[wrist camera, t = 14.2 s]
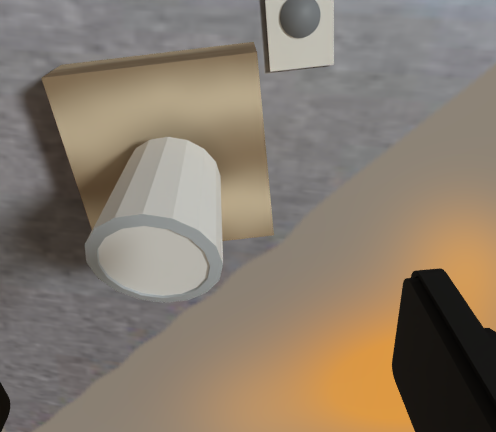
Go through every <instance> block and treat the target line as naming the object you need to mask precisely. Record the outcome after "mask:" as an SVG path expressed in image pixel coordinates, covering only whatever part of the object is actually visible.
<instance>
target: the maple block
mask: <svg viewBox="0 0 496 432" xmlns="http://www.w3.org/2000/svg"><path fill="white" fill-rule="evenodd" d="M42 81H43V84H44V87H45V90H46V93H47V96H48V99H49V102H50V105H51V108H52V111H53V114H54V117H55V120H56V123H57V126H58V129H59V132H60V135H61V138H62V141H63V144H64V147H65V150H66V153H67V156H68V159H69V162H70V165H71V168H72V171H73V174H74V177H75V180H76V183H77V186H78V189H79V192H80V195H81V198H82V201H83V204H84V207H85V210H86V213H87V216H88V219H89V222H90V225H91V228H92V230H93V228H94V226H95V224H96V222H97V220H98V218H99V216H100V214H101V212H102V210H103V208H104V207H105V205H106V203H107V201H108V199H109V197H110V195H111V193H112V191H113V189H114V187H115V185H116V184H117V182H118V180H119V178H120V176H121V174H122V172H123V170H124V168H125V166H126V164H127V162H128V161H129V159H130V157H131V155H132V154H133V152H134V150H135V149H136V148H137V147H139V146H140V145H142V144H144V143H145V142H147V141H148V140H151V139H157V138H163V137H173V138H179V139H185V140H188V141H190V142H192V143H194V144H196V145H198V146H200V147H202V148H204V149H205V150H206V151H207V152H208V154H209V155H210V156H211V157H212V158H213V159H214V160H215V161H216V164H217V167H218V170H219V173H220V178H221V212H222V241H227V240H236V239H244V238H253V237H262V236H271V235H274V233H273V222H272V211H271V200H270V189H269V179H268V168H267V157H266V146H265V135H264V124H263V114H262V103H261V92H260V81H259V70H258V59H257V51H256V48H255V45H254V42H249V43H240V44H232V45H224V46H215V47H207V48H198V49H190V50H182V51H173V52H165V53H157V54H148V55H140V56H132V57H123V58H115V59H107V60H98V61H90V62H82V63H73V64H65V65H60V66H59V67H57V68H56V69H54V70H53V71H51V72H50V73H48V74H47V75H45V76H44V77H42Z"/></svg>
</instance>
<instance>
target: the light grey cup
mask: <svg viewBox="0 0 496 432" xmlns="http://www.w3.org/2000/svg"><path fill="white" fill-rule="evenodd" d="M85 253H86V262H87V264H88V265H89V266H90V268H91V269H92V271H93V272H94V273H95V275H96V276H97V278H98V279H100V280H101V281H103V282H104V283H106V284H107V285H109V286H110V287H112V288H113V289H114V290H116V291H118V292H121V293H123V294H126V295H129V296H132V297H134V298H137V299H140V300H148V301H156V302H163V303H165V302H175V301H185V300H189V299H192V298H194V297H197V296H199V295H202V294H204V293H207V292H208V291H209V290H210V289H211V288H212V287H213V286H214V285H215V284H216V283H217V282H218V281H219V279H220V275H221V271H222V266H223V246H222V212H221V178H220V173H219V170H218V167H217V164H216V161H215V160H214V159H213V158H212V157H211V156H210V155H209V154H208V152H207V151H206V150H205V149H204V148H202V147H200V146H198V145H196V144H194V143H192V142H190V141H188V140H185V139H179V138H173V137H163V138H157V139H151V140H148V141H147V142H145V143H144V144H142V145H140V146H139V147H137V148H136V149H135V150H134V152H133V154H132V155H131V157H130V159H129V161H128V162H127V164H126V166H125V168H124V170H123V172H122V174H121V176H120V178H119V180H118V182H117V184H116V185H115V187H114V189H113V191H112V193H111V195H110V197H109V199H108V201H107V203H106V205H105V207H104V208H103V210H102V212H101V214H100V216H99V218H98V220H97V222H96V224H95V226H94V228H93V230H92V231H91V233H90V235H89V237H88V239H87V241H86V243H85Z"/></svg>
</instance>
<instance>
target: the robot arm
mask: <svg viewBox="0 0 496 432" xmlns="http://www.w3.org/2000/svg"><path fill="white" fill-rule="evenodd" d="M394 346H395V347H394V353H393V360H392V370H393V375H394V379H395V382H396V385H397V387H398V390H399V392H400V395H401V397H402V400H403V402H404V404H405V407H406V410H407V412H408V415H409V417H410V420H411V423H412V425H413V427H414V430H415V432H496V332H495V331H493V330H492V329H490V328H483V326H482V325H481V323H480V322H479V320H478V319H477V318H476V316H475V315H474V313H473V312H472V310H471V309H470V307H469V306H468V304H467V303H466V301H465V300H464V298H463V297H462V295H461V294H460V292H459V291H458V289H457V288H456V287H455V285H454V284H453V282H452V281H451V279H450V278H449V276H448V275H447V273H446V272H445V271H444V270H443V269H430V270H419V271H414V272H413V273H412V275H411V278H407V279H405V280H404V282H403V288H402V295H401V303H400V310H399V317H398V324H397V332H396V339H395V345H394ZM9 412H10V399H9V397H8V395H7V393H6V391H5V390H4V388H3V386H2V384H1V383H0V432H1V431H2V429H3V426H4V424H5V422H6V420H7V418H8V415H9Z"/></svg>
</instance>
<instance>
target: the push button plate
mask: <svg viewBox="0 0 496 432" xmlns="http://www.w3.org/2000/svg"><path fill="white" fill-rule="evenodd" d="M265 9H266V22H267V36H268V50H269V64H270V72H272V71H281V70H290V69H299V68H308V67H317V66H326V65H334V0H265Z"/></svg>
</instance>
